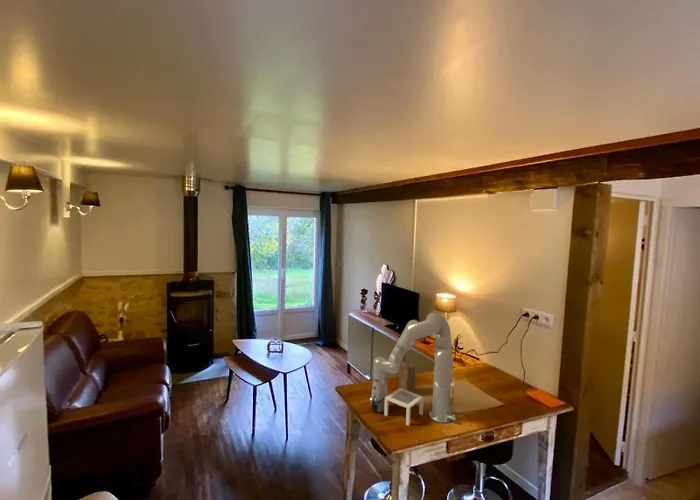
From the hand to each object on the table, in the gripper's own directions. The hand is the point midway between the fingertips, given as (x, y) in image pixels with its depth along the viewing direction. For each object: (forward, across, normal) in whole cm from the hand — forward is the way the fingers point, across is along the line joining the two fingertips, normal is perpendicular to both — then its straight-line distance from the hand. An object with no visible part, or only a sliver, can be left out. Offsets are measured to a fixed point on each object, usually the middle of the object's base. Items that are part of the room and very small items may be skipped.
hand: (378, 407), depth 219 cm
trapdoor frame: (+1, +5, -14) cm, 15 cm away
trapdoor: (-8, +5, -14) cm, 17 cm away
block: (+1, +29, -1) cm, 29 cm away
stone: (+1, 0, 0) cm, 1 cm away
